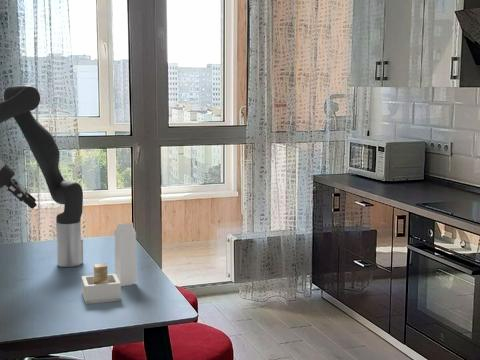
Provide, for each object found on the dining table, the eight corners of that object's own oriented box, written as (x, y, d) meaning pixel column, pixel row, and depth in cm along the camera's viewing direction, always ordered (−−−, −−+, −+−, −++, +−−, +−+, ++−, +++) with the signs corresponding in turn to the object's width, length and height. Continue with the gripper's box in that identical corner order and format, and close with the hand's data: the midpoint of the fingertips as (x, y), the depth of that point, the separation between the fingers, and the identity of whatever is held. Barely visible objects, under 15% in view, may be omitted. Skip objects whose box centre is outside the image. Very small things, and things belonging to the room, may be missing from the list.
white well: (85, 304, 197) (85, 286, 197) (81, 293, 208) (81, 276, 207) (120, 300, 201) (120, 283, 201) (115, 290, 212) (115, 273, 211)
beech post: (95, 296, 202) (95, 267, 201) (94, 292, 206) (93, 264, 204) (107, 295, 203) (107, 266, 202) (106, 291, 207) (105, 263, 206)
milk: (136, 284, 219) (136, 224, 216) (119, 286, 216) (119, 225, 213) (130, 279, 224) (130, 221, 221) (114, 281, 221) (114, 222, 218)
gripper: (4, 165, 192) (43, 200, 197) (4, 160, 205) (41, 193, 210) (-14, 182, 190) (26, 217, 196) (-12, 176, 204) (25, 209, 209)
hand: (34, 204), depth 203 cm, fingers open, 8 cm apart
